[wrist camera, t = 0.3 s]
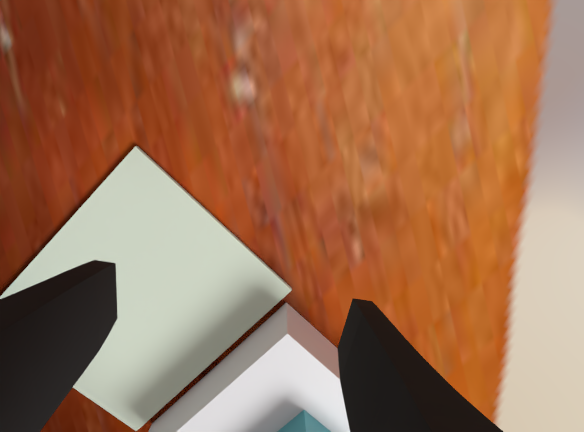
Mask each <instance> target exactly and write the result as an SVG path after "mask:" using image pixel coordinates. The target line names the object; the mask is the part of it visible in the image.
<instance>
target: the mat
mask: <svg viewBox="0 0 584 432" xmlns="http://www.w3.org/2000/svg"><path fill="white" fill-rule="evenodd" d="M93 260H98V261H105V262H112V263H116V287H117V317H118V318H117V320H116V322H115V324H114V326H113V328H112V330H111V331H110V333H109V335H108V337H107V339H106V340H105V342H104V344H103V345H102V347H101V349H100V350H99V352H98V353H97V355H96V356H95V357H94V359H93V360H92V362H91V363H90V364H89V366H88V367H87V368H86V370H85V371H84V373H83V374H82V375H81V377H80V378H79V379H78V381H77V382H76V383H75V385H74V386H73V388H75V389H76V390H77V391H79V392H80V393H82V394H83V395H85V396H86V397H88V398H89V399H90V400H92V401H93V402H95V403H96V404H98V405H99V406H101V407H102V408H103V409H105V410H106V411H108V412H109V413H111V414H112V415H113V416H115V417H116V418H118V419H119V420H121V421H122V422H124V423H125V424H126V425H128V426H129V427H131V428H132V429H134V430H135V431H137V430H138V429H139V428H141V427H142V426H143V425H144V424H145V423H146V422H147V421H148V420H149V419H151V418H152V417H153V416H154V415H155V414H156V413H157V412H158V411H159V410H160V409H162V408H163V407H164V406H165V405H166V404H167V403H168V402H169V401H170V400H171V399H173V398H174V397H175V396H176V395H177V394H178V393H179V392H180V391H181V390H182V389H184V388H185V387H186V386H187V385H188V384H189V383H190V382H191V381H192V380H193V379H195V378H196V377H197V376H198V375H199V374H200V373H201V372H202V371H203V370H205V369H206V368H207V367H208V366H209V365H210V364H211V363H212V362H213V361H214V360H216V359H217V358H218V357H219V356H220V355H221V354H222V353H223V352H224V351H225V350H227V349H228V348H229V347H230V346H231V345H232V344H233V343H234V342H235V341H236V340H238V339H239V338H240V337H241V336H242V335H243V334H244V333H245V332H246V331H247V330H249V329H250V328H251V327H252V326H253V325H254V324H255V323H256V322H257V321H259V320H260V319H261V318H262V317H263V316H264V315H265V314H266V313H267V312H268V311H270V310H271V309H272V308H273V307H274V306H275V305H276V304H277V303H278V302H279V301H281V300H282V299H283V298H284V297H285V296H286V295H287V294H288V293H289V292H290V291H292V288H291V287H290V286H289V285H288V284H287V283H286V282H285V281H284V280H283V279H281V278H280V277H279V276H278V275H277V274H276V273H275V272H274V271H273V270H272V269H271V268H270V267H268V266H267V265H266V264H265V263H264V262H263V261H262V260H261V259H260V258H259V257H258V256H256V255H255V254H254V253H253V252H252V251H251V250H250V249H249V248H248V247H247V246H246V245H245V244H243V243H242V242H241V241H240V240H239V239H238V238H237V237H236V236H235V235H234V234H233V233H231V232H230V231H229V230H228V229H227V228H226V227H225V226H224V225H223V224H222V223H221V222H220V221H218V220H217V219H216V218H215V217H214V216H213V215H212V214H211V213H210V212H209V211H208V210H207V209H205V208H204V207H203V206H202V205H201V204H200V203H199V202H198V201H197V200H196V199H195V198H193V197H192V196H191V195H190V194H189V193H188V192H187V191H186V190H185V189H184V188H183V187H182V186H180V185H179V184H178V183H177V182H176V181H175V180H174V179H173V178H172V177H171V176H170V175H168V174H167V173H166V172H165V171H164V170H163V169H162V168H161V167H160V166H159V165H158V164H157V163H155V162H154V161H153V160H152V159H151V158H150V157H149V156H148V155H147V154H146V153H145V152H144V151H142V150H141V149H140V148H139V147H138V146H135V147H134V148H133V149H132V151H131V152H130V153H129V154H128V155H127V156H126V157H125V158H124V159H123V161H122V162H121V163H120V164H119V165H118V166H117V167H116V168H115V169H114V171H113V172H112V173H111V174H110V175H109V176H108V177H107V178H106V179H105V181H104V182H103V183H102V184H101V185H100V186H99V187H98V188H97V189H96V191H95V192H94V193H93V194H92V195H91V196H90V197H89V198H88V200H87V201H86V202H85V203H84V204H83V205H82V206H81V207H80V208H79V210H78V211H77V212H76V213H75V214H74V215H73V216H72V217H71V218H70V220H69V221H68V222H67V223H66V224H65V225H64V226H63V227H62V228H61V230H60V231H59V232H58V233H57V234H56V235H55V236H54V237H53V238H52V240H51V241H50V242H49V243H48V244H47V245H46V246H45V247H44V249H43V250H42V251H41V252H40V253H39V254H38V255H37V256H36V257H35V259H34V260H33V261H32V262H31V263H30V264H29V265H28V266H27V267H26V269H25V270H24V271H23V272H22V273H21V274H20V275H19V276H18V277H17V279H16V280H15V281H14V282H13V283H12V284H11V285H10V286H9V287H8V289H7V290H6V291H5V292H4V293H3V294H2V295H1V296H0V299H2V298H4V297H7V296H9V295H12V294H14V293H16V292H19V291H21V290H23V289H26V288H28V287H30V286H33V285H35V284H37V283H40V282H42V281H44V280H47V279H49V278H51V277H54V276H56V275H58V274H61V273H63V272H65V271H68V270H70V269H72V268H75V267H77V266H80V265H82V264H85V263H87V262H90V261H93Z"/></svg>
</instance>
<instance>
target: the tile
mask: <svg viewBox="0 0 584 432" xmlns="http://www.w3.org/2000/svg"><path fill="white" fill-rule="evenodd" d="M277 432H331V431H330V430H328V429H327V428H326V427H325V426H324V425H322V424H321V423H320V422H319V421H318V420H316V419H315V418H314V417H313V416H311V415H310V414H309V413H308V412H307V411H305V410H303V411H302V412H300V413H299V414H298V415H297V416H296V417H294V418H293V419H292V420H291V421H289V422H288V423H287V424H286V425H285V426H283V427H282V428H281V429H280V430H279V431H277Z"/></svg>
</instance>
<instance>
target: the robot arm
mask: <svg viewBox="0 0 584 432" xmlns="http://www.w3.org/2000/svg"><path fill="white" fill-rule="evenodd" d="M117 318H118V317H117V287H116V263H112V262H105V261H98V260H93V261H90V262H87V263H85V264H82V265H80V266H77V267H75V268H72V269H70V270H68V271H65V272H63V273H61V274H58V275H56V276H54V277H51V278H49V279H47V280H44V281H42V282H40V283H37V284H35V285H33V286H30V287H28V288H26V289H23V290H21V291H19V292H16V293H14V294H12V295H9V296H7V297H4V298H2V299H0V432H40V431H41V429H42V428H43V426H44V425H45V424H46V422H47V421H48V420H49V418H50V417H51V416H52V414H53V413H54V412H55V410H56V409H57V408H58V406H59V405H60V404H61V402H62V401H63V400H64V398H65V397H66V395H67V394H68V393H69V391H70V390H71V389H72V387H73V386H74V385H75V383H76V382H77V381H78V379H79V378H80V377H81V375H82V374H83V373H84V371H85V370H86V368H87V367H88V366H89V364H90V363H91V362H92V360H93V359H94V357H95V356H96V355H97V353H98V352H99V350H100V349H101V347H102V345H103V344H104V342H105V340H106V339H107V337H108V335H109V333H110V331H111V330H112V328H113V326H114V324H115V322H116V320H117ZM338 362H339V374H340V383H341V389H342V394H343V399H344V404H345V409H346V414H347V419H348V424H349V429H350V432H503V431H502V430H501V429H500V428H498V427H497V426H496V425H495V424H494V423H492V422H491V421H490V420H489V419H488V418H486V417H485V416H484V415H483V414H482V413H481V412H480V411H478V410H477V409H476V408H475V407H474V406H473V405H472V404H471V403H469V402H468V401H467V400H466V399H465V398H464V397H463V396H462V395H460V394H459V393H458V392H457V391H456V390H455V389H454V388H453V387H452V386H451V385H450V384H449V383H448V382H447V381H446V380H445V379H444V378H443V377H442V376H441V375H440V374H439V373H438V372H437V371H436V370H435V369H434V368H433V367H432V366H431V365H430V364H429V363H428V362H427V361H426V360H425V359H424V358H423V357H422V356H421V355H420V354H419V353H418V352H417V351H416V350H415V349H414V347H413V346H412V345H411V344H410V343H409V342H408V341H407V340H406V339H405V338H404V336H403V335H402V334H401V333H400V332H399V331H398V330H397V329H396V327H395V326H394V325H393V324H392V323H391V322H390V321H389V319H388V318H387V317H386V316H385V315H384V314H383V313H382V312H381V310H380V309H379V308H378V307H377V306H376V305H375V304H374V303H373V302H372V301H366V300H360V299H353V300H352V303H351V306H350V310H349V313H348V316H347V319H346V323H345V326H344V329H343V332H342V336H341V339H340V342H339V345H338Z"/></svg>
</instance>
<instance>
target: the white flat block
mask: <svg viewBox="0 0 584 432" xmlns="http://www.w3.org/2000/svg"><path fill="white" fill-rule="evenodd" d="M303 410H305V411H307V412H308V413H309V414H310V415H311V416H313V417H314V418H315V419H316V420H318V421H319V422H320V423H321V424H322V425H324V426H325V427H326V428H327V429H328V430H330V431H331V432H350V429H349V424H348V419H347V414H346V409H345V404H344V399H343V394H342V389H341V383H340V374H339V362H338V349H337V348H336V347H335V346H334V345H333V344H332V343H331V342H330V341H329V340H328V339H326V338H325V337H324V336H323V335H322V334H321V333H320V332H319V331H318V330H316V329H315V328H314V327H313V326H312V325H311V324H310V323H309V322H308V321H306V320H305V319H304V318H303V317H302V316H301V315H300V314H299V313H298V312H297V311H295V310H294V309H293V308H292V307H291V306H290V305H289V304H288V303H287V302H286V303H285V304H284V305H283V306H282V307H281V308H280V309H278V310H277V311H276V312H275V313H274V314H273V315H272V316H271V317H270V318H269V319H267V320H266V321H265V322H264V323H263V324H262V325H261V326H260V327H259V328H257V329H256V330H255V331H254V332H253V333H252V334H251V335H250V336H249V337H247V338H246V339H245V340H244V341H243V342H242V343H241V344H240V345H239V346H238V347H236V348H235V349H234V350H233V351H232V352H231V353H230V354H229V355H228V356H226V357H225V358H224V359H223V360H222V361H221V362H220V363H219V364H218V365H216V366H215V367H214V368H213V369H212V370H211V371H210V372H209V373H208V374H206V375H205V376H204V377H203V378H202V379H201V380H200V381H199V382H198V383H197V384H195V385H194V386H193V387H192V388H191V389H190V390H189V391H188V392H187V393H185V394H184V395H183V396H182V397H181V398H180V399H179V400H178V401H177V402H175V403H174V404H173V405H172V406H171V407H170V408H169V409H168V410H167V411H165V412H164V413H163V414H162V415H161V416H160V417H159V418H158V419H157V420H156V421H154V422H153V423H152V425H151V427H150V429H149V432H277V431H279V430H280V429H281V428H282V427H283V426H285V425H286V424H287V423H288V422H289V421H291V420H292V419H293V418H294V417H296V416H297V415H298V414H299V413H300V412H302V411H303Z"/></svg>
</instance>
